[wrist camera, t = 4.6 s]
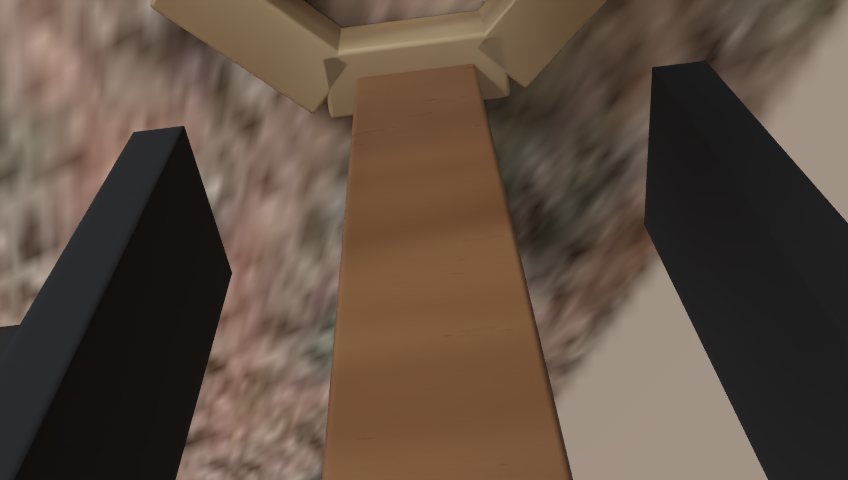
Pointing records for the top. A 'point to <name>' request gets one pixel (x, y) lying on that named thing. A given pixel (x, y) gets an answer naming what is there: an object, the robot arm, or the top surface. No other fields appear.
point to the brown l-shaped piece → (419, 230)
